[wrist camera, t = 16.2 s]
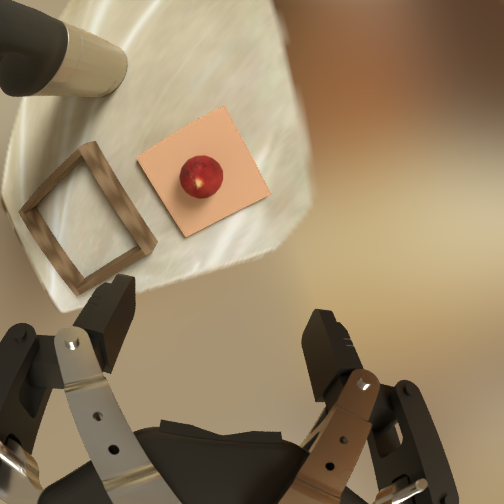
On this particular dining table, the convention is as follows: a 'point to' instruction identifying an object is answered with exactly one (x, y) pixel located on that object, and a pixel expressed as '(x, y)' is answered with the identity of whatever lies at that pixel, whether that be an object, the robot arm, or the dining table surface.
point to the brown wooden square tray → (117, 200)
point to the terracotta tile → (212, 145)
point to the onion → (201, 176)
